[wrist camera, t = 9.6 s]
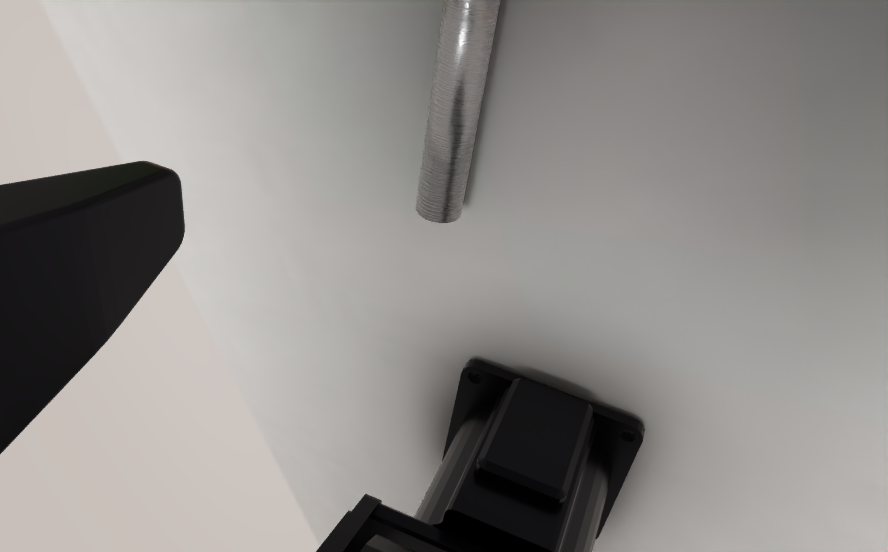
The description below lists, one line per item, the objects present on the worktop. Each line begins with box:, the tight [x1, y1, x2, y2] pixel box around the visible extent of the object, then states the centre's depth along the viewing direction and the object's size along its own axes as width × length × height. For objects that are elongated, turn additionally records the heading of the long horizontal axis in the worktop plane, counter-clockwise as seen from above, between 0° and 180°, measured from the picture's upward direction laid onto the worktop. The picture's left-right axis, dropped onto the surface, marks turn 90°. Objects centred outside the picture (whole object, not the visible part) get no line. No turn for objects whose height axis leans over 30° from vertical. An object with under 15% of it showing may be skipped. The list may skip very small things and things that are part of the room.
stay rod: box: [416, 0, 500, 223], centre depth 20 cm, size 10×1×1 cm, turn 172°
